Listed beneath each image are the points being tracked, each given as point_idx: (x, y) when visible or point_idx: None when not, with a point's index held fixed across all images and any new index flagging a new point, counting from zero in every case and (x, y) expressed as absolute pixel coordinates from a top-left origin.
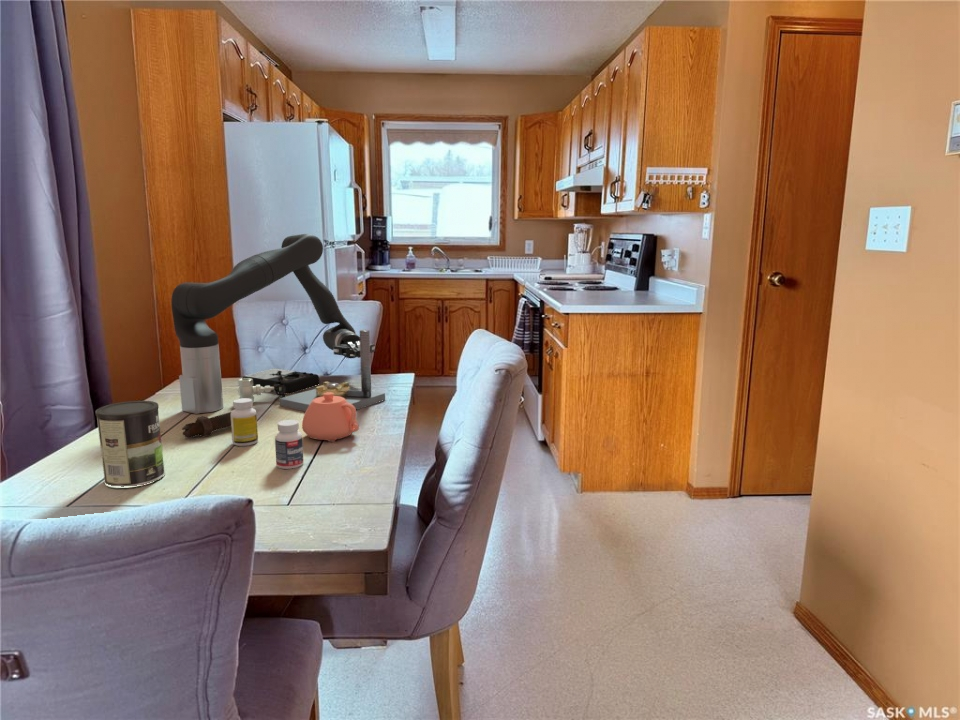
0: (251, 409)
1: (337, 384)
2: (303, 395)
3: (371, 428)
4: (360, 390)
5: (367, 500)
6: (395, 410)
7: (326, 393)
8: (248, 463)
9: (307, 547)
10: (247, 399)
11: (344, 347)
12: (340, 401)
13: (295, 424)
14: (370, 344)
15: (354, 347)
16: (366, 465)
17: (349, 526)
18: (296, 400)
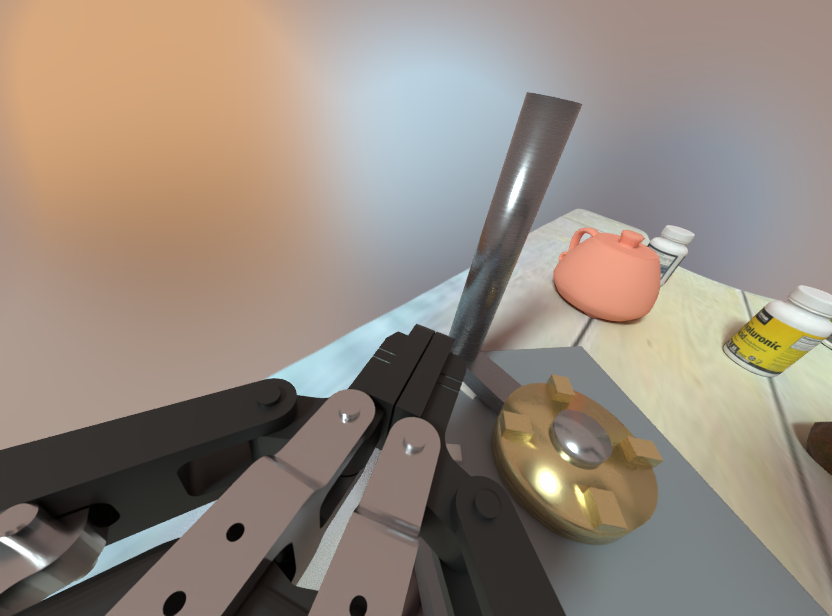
0: (783, 302)
1: (562, 413)
2: (707, 587)
3: (517, 284)
4: (479, 359)
5: (575, 223)
6: (423, 307)
7: (638, 234)
8: (704, 305)
9: (619, 222)
10: (814, 294)
11: (527, 554)
12: (605, 233)
13: (668, 225)
14: (68, 460)
15: (419, 432)
16: (561, 242)
17: (593, 219)
18: (720, 514)
